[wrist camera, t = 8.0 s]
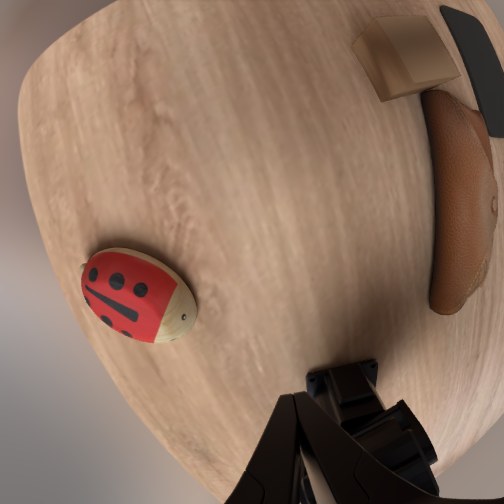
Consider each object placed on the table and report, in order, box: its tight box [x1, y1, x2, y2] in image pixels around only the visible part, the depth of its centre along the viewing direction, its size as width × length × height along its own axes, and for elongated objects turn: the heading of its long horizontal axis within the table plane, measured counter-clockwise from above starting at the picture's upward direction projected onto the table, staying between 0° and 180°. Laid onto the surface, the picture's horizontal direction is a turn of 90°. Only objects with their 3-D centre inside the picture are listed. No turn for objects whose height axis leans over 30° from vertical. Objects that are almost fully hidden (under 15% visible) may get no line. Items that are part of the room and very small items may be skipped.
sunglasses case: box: [421, 90, 498, 315], centre depth 17 cm, size 18×7×7 cm
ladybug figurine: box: [80, 248, 197, 343], centre depth 18 cm, size 7×10×4 cm
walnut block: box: [351, 16, 461, 102], centre depth 13 cm, size 5×5×5 cm
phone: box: [440, 5, 504, 138], centre depth 15 cm, size 7×1×15 cm
